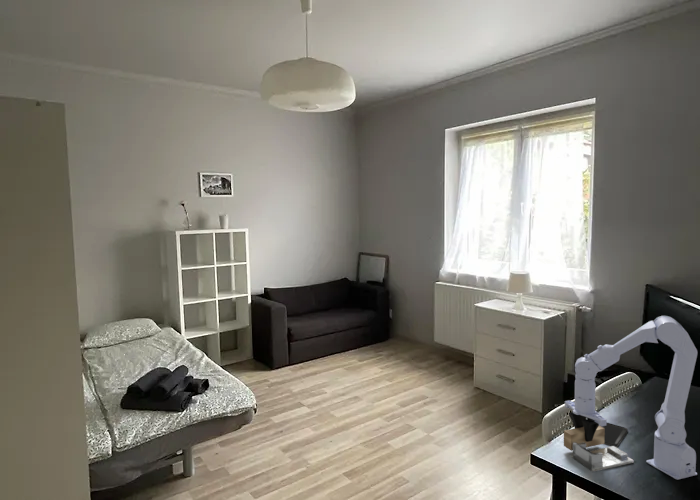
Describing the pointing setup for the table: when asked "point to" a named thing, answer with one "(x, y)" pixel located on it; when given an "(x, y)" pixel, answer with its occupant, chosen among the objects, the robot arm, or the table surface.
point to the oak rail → (583, 437)
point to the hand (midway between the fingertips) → (584, 438)
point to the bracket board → (600, 457)
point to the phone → (614, 434)
